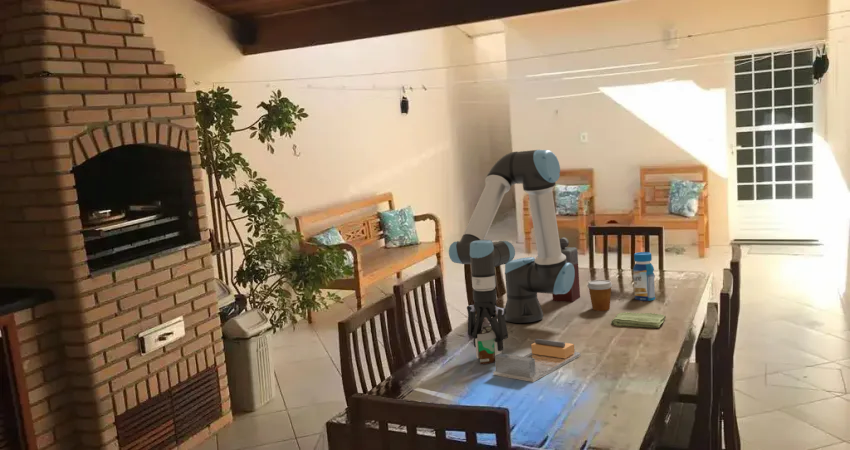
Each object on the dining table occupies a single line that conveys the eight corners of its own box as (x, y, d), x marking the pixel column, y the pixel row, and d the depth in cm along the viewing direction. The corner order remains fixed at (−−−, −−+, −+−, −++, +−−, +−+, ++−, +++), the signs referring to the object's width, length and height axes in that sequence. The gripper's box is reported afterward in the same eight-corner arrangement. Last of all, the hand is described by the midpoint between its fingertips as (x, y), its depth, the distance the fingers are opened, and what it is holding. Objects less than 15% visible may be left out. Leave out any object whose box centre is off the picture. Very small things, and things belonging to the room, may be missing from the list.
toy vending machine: (582, 300, 296) (578, 235, 293) (573, 306, 286) (569, 239, 283) (562, 299, 301) (558, 235, 298) (552, 305, 291) (548, 239, 288)
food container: (498, 365, 217) (496, 334, 216) (479, 365, 218) (476, 334, 217) (503, 353, 229) (501, 324, 228) (485, 354, 230) (482, 324, 229)
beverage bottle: (658, 302, 281) (656, 253, 279) (637, 304, 282) (635, 255, 280) (652, 298, 290) (650, 250, 288) (631, 299, 290) (629, 252, 288)
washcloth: (661, 329, 244) (661, 320, 243) (610, 327, 252) (610, 319, 251) (666, 320, 255) (666, 311, 255) (617, 318, 263) (617, 310, 263)
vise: (493, 374, 209) (492, 355, 208) (542, 350, 230) (541, 332, 229) (533, 382, 199) (532, 361, 199) (580, 355, 220) (579, 337, 220)
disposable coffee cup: (600, 316, 267) (598, 285, 266) (583, 312, 276) (582, 282, 275) (619, 311, 272) (617, 281, 270) (602, 308, 280) (600, 278, 279)
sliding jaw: (531, 353, 223) (530, 339, 222) (541, 348, 227) (540, 334, 227) (565, 358, 215) (564, 344, 214) (574, 353, 219) (573, 339, 219)
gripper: (452, 288, 225) (458, 357, 228) (503, 293, 212) (508, 366, 215) (467, 284, 231) (471, 351, 233) (516, 288, 218) (521, 359, 220)
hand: (489, 358), depth 224 cm, fingers closed on food container, 7 cm apart
